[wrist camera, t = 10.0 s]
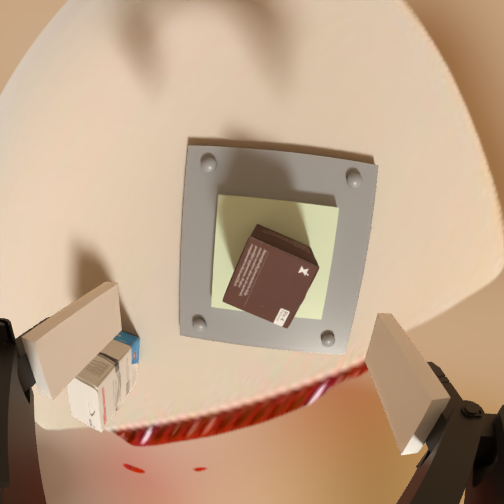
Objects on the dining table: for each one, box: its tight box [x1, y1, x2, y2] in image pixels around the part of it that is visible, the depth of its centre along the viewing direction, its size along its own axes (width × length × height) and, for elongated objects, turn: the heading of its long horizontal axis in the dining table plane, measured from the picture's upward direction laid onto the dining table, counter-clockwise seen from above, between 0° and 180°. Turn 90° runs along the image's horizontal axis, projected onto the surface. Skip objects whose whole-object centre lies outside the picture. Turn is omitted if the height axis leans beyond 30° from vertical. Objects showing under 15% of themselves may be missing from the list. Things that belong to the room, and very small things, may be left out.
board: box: [180, 145, 378, 355], centre depth 31 cm, size 22×20×2 cm
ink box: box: [66, 331, 140, 433], centre depth 32 cm, size 8×5×12 cm, turn 166°
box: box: [222, 224, 319, 329], centre depth 27 cm, size 6×6×7 cm
